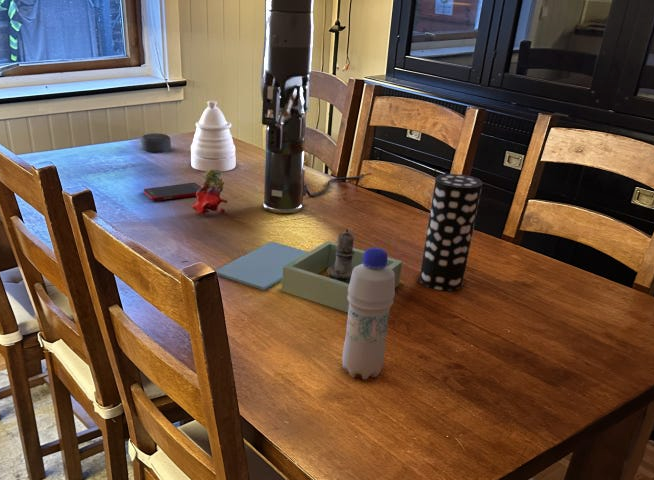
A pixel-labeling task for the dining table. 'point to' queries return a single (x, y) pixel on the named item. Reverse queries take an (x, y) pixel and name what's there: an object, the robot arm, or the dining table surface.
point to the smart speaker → (156, 142)
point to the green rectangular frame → (321, 289)
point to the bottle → (368, 314)
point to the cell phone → (172, 191)
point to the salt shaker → (343, 258)
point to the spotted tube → (450, 231)
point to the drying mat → (261, 265)
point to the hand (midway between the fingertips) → (284, 144)
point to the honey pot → (213, 142)
